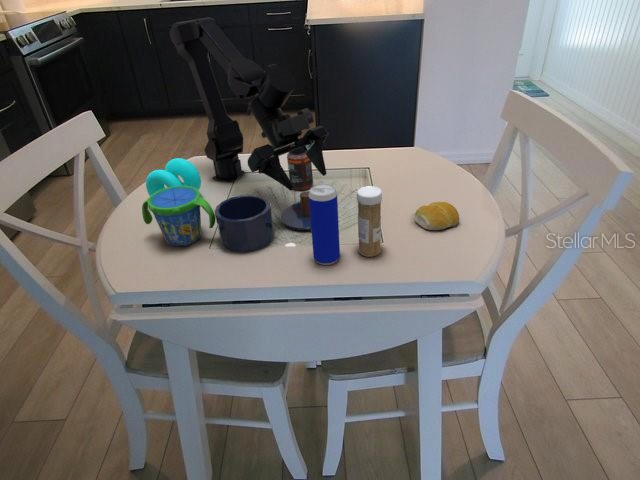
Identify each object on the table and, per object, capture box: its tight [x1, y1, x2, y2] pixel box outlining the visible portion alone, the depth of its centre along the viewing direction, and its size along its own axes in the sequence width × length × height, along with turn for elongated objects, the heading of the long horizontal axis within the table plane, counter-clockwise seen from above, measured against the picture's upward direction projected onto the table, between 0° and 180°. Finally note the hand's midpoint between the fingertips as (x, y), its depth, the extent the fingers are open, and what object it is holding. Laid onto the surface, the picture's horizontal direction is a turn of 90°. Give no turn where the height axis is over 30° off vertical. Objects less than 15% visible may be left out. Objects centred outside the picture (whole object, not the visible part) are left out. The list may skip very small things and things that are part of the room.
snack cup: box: [141, 186, 216, 247], centre depth 97 cm, size 16×10×10 cm
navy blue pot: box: [214, 194, 275, 254], centre depth 96 cm, size 11×11×7 cm
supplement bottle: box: [286, 145, 314, 191], centre depth 114 cm, size 6×6×11 cm
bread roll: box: [414, 201, 460, 231], centre depth 98 cm, size 8×9×4 cm
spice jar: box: [356, 185, 383, 258], centre depth 87 cm, size 5×5×14 cm
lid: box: [279, 191, 311, 231], centre depth 102 cm, size 12×12×6 cm
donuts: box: [145, 157, 202, 197], centre depth 112 cm, size 10×10×10 cm
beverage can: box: [308, 183, 341, 266], centre depth 86 cm, size 5×5×15 cm
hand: (309, 181), depth 97 cm, fingers open, 9 cm apart
